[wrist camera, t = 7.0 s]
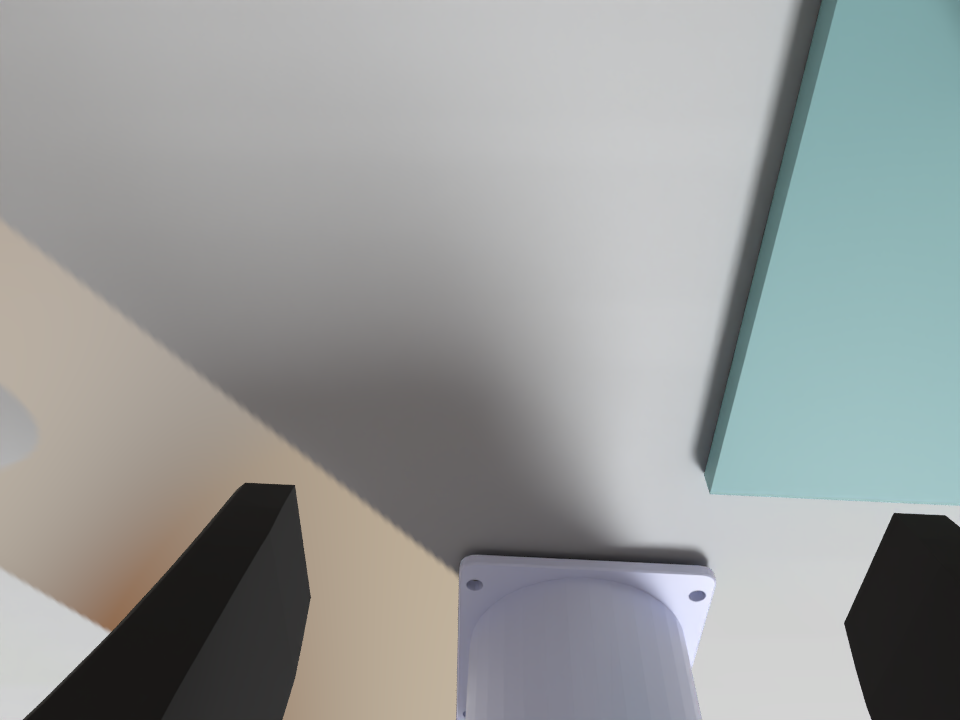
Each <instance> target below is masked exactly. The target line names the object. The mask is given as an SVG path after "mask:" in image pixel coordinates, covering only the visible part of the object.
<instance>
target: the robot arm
mask: <svg viewBox="0 0 960 720" xmlns="http://www.w3.org/2000/svg"><path fill="white" fill-rule="evenodd" d="M474 579H475V580H479V581H473V580H474ZM715 587H716V579H715V575H714V572H713V571H712V569H710V568H708V567H706V566H700V565H680V564H659V563H638V562H617V561H597V560H576V559H555V558H534V557H514V556H493V555H469V556H467V557H465V558H463V559H462V560H461V563H460V568H459V608H458V662H457V664H458V665H457V712H456V720H702V716H701V711H700V707H699V702H698V697H697V693H696V688H695V683H694V679H693V674H692V666H693V663H694V659H695V656H696V652H697V649H698V645H699V642H700V638H701V635H702V632H703V628H704V625H705V621H706V618H707V614H708V611H709V607H710V604H711V600H712V597H713V594H714V590H715ZM698 590H699V591H698ZM693 591H695V592H693ZM310 598H311V596H310V589H309V582H308V575H307V568H306V561H305V554H304V548H303V539H302V532H301V525H300V519H299V511H298V504H297V497H296V490H295V485H280V484H279V485H278V484H258V483H245V484H243V485H242V486H241V487H239V488H238V489H237V490H236V492H235V493H234V494H233V495H232V496H231V497H230V499H229V500H228V501H227V502H226V503H225V505H224V506H223V507H222V508H221V509H220V510H219V512H218V513H217V514H216V515H215V516H214V518H213V519H212V520H211V521H210V523H209V524H208V525H207V526H206V527H205V528H204V530H203V531H202V532H201V533H200V534H199V535H198V537H197V538H196V539H195V540H194V541H193V542H192V544H191V545H190V546H189V547H188V548H187V549H186V550H185V552H184V553H183V554H182V555H181V556H180V557H179V558H178V560H177V561H176V562H175V563H174V564H173V565H172V566H171V568H170V569H169V570H168V571H167V572H166V573H165V574H164V576H163V577H162V578H161V579H160V580H159V581H158V582H157V583H156V584H155V585H154V586H153V588H152V589H151V590H150V591H149V592H148V593H147V594H146V595H145V596H144V597H143V598H142V600H141V601H140V602H139V603H138V604H137V605H136V606H135V607H134V608H133V609H132V610H131V611H130V613H129V614H128V615H127V616H126V617H125V618H124V619H123V620H122V621H121V622H120V623H119V625H118V626H117V627H116V628H115V629H114V630H113V631H112V632H111V633H110V634H109V635H108V636H107V637H106V638H105V639H104V640H103V641H102V642H101V643H100V644H99V645H98V646H97V647H96V648H95V649H94V650H93V651H92V652H91V653H90V654H89V655H88V656H87V657H86V658H85V659H84V660H83V661H82V662H81V663H80V664H79V665H78V666H77V667H76V668H75V669H74V670H73V671H72V672H71V673H70V674H69V675H68V676H67V677H66V678H65V679H64V680H63V681H62V682H61V683H60V684H59V685H58V686H57V687H56V688H55V689H54V690H53V691H52V692H51V693H50V694H49V695H48V696H47V697H46V698H45V699H44V700H43V701H42V702H41V703H40V704H39V705H38V706H37V707H36V708H35V709H34V710H33V711H32V712H30V713H29V714H28V715H27V716H26V717H25V718H24V719H23V720H282V719H283V716H284V712H285V709H286V706H287V703H288V699H289V696H290V693H291V689H292V686H293V683H294V679H295V675H296V670H297V666H298V661H299V656H300V651H301V646H302V641H303V636H304V630H305V625H306V619H307V614H308V609H309V603H310ZM844 625H845V628H846V632H847V636H848V640H849V644H850V648H851V652H852V656H853V660H854V664H855V668H856V672H857V675H858V678H859V682H860V685H861V689H862V692H863V696H864V699H865V703H866V706H867V709H868V711H869V714H870V717H871V719H872V720H960V527H959V526H958V525H957V524H955V523H954V522H953V521H952V520H950V519H949V518H948V517H947V516H945V515H924V514H902V513H894V514H893V516H892V518H891V521H890V523H889V525H888V527H887V529H886V532H885V534H884V536H883V538H882V540H881V543H880V545H879V547H878V549H877V552H876V554H875V556H874V558H873V560H872V563H871V565H870V567H869V569H868V572H867V574H866V576H865V578H864V580H863V583H862V585H861V587H860V589H859V591H858V594H857V596H856V598H855V600H854V603H853V605H852V607H851V609H850V611H849V614H848V616H847V618H846V620H845V622H844Z"/></svg>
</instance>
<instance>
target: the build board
mask: <svg viewBox="0 0 960 720" xmlns="http://www.w3.org/2000/svg"><path fill="white" fill-rule="evenodd" d="M704 476H705V479H706V483H707V486H708V489H709V493H710V494H719V495H741V496H762V497H784V498H805V499H827V500H848V501H870V502H891V503H913V504H934V505H955V506H960V0H822V2H821V6H820V10H819V14H818V18H817V22H816V26H815V30H814V34H813V38H812V42H811V46H810V50H809V54H808V58H807V62H806V66H805V71H804V75H803V79H802V83H801V87H800V91H799V95H798V99H797V103H796V107H795V111H794V115H793V119H792V123H791V127H790V131H789V135H788V139H787V143H786V147H785V151H784V155H783V159H782V163H781V167H780V171H779V175H778V179H777V183H776V187H775V191H774V195H773V199H772V203H771V208H770V212H769V216H768V220H767V224H766V228H765V232H764V236H763V240H762V244H761V248H760V252H759V256H758V260H757V264H756V268H755V272H754V276H753V280H752V284H751V288H750V292H749V296H748V300H747V304H746V308H745V312H744V316H743V320H742V324H741V328H740V332H739V336H738V340H737V345H736V349H735V353H734V357H733V361H732V365H731V369H730V373H729V377H728V381H727V385H726V389H725V393H724V397H723V401H722V405H721V409H720V413H719V417H718V421H717V425H716V429H715V433H714V437H713V441H712V445H711V449H710V453H709V457H708V461H707V465H706V469H705V473H704Z"/></svg>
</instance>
